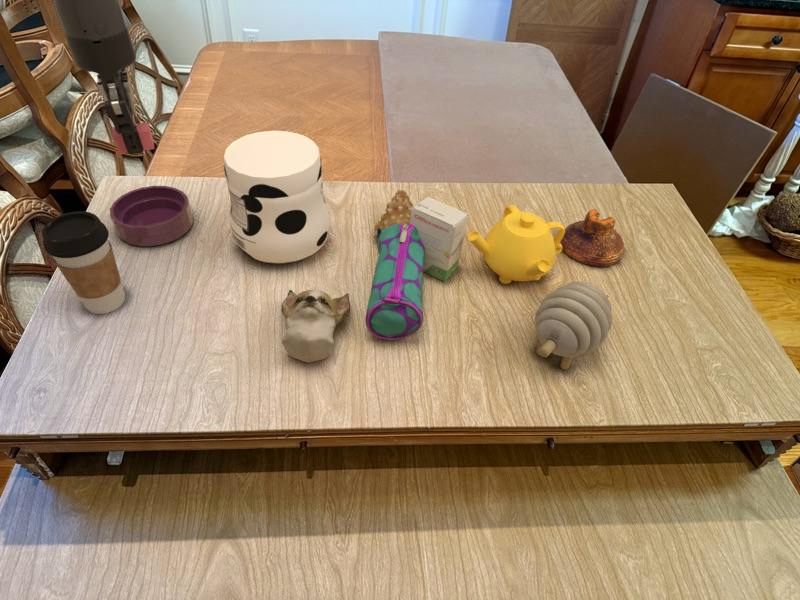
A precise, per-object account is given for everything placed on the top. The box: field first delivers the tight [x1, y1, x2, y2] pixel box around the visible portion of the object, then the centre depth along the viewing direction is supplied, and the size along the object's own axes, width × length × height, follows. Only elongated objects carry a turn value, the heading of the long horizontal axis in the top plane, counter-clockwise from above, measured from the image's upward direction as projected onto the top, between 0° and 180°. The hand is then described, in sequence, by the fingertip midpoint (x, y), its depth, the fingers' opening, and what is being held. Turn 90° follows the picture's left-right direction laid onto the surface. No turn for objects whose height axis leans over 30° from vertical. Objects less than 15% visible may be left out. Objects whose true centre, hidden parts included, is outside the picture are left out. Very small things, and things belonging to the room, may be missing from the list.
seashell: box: [374, 189, 414, 242], centre depth 101 cm, size 9×8×10 cm
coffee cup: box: [41, 210, 126, 315], centre depth 80 cm, size 8×8×15 cm
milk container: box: [223, 130, 331, 265], centre depth 92 cm, size 17×17×18 cm
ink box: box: [410, 195, 470, 282], centre depth 92 cm, size 9×5×12 cm, turn 56°
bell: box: [560, 208, 625, 267], centre depth 99 cm, size 12×12×7 cm
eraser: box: [111, 122, 155, 155], centre depth 81 cm, size 5×3×3 cm, turn 111°
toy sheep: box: [534, 281, 613, 370], centre depth 79 cm, size 11×17×11 cm, turn 145°
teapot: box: [467, 204, 566, 285], centre depth 92 cm, size 14×14×11 cm
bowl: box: [109, 185, 194, 247], centre depth 98 cm, size 13×13×4 cm
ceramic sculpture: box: [280, 289, 351, 363], centre depth 80 cm, size 11×9×15 cm
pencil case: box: [364, 223, 425, 342], centre depth 86 cm, size 21×9×10 cm, turn 177°
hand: (135, 146), depth 82 cm, fingers closed on eraser, 2 cm apart
